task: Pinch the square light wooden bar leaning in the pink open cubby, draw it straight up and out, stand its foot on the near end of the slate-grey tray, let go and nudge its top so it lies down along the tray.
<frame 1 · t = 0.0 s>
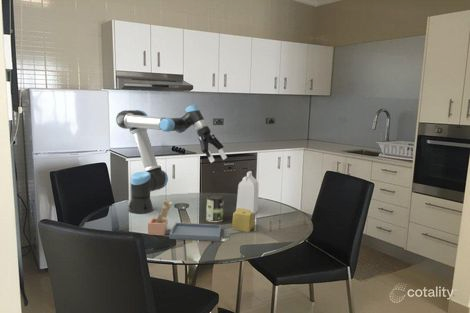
hand: (219, 160, 222), 36 cm above the table, tool tilted 35°, fingers open, 13 cm apart
slate tray: (196, 233, 203), on the table
light wooden bar: (157, 228, 203), point 2 cm above the table, touching pink open cubby
coffee can: (214, 219, 228), on the table
pink open cubby: (157, 231, 203), on the table
cheese: (243, 228, 215), on the table
milk: (247, 211, 248), on the table
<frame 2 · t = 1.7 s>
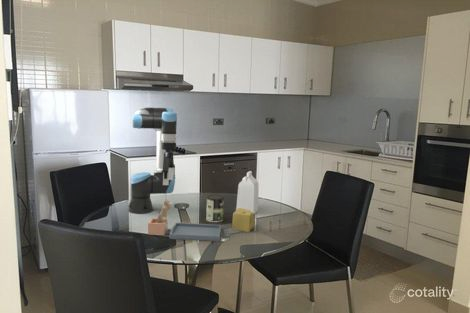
hand: (168, 182, 200), 27 cm above the table, tool pointing down, fingers open, 13 cm apart
nothing on the table moved.
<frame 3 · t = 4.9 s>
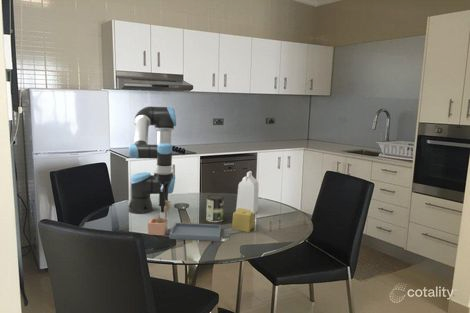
hand: (163, 216, 202), 9 cm above the table, tool pointing down, fingers closed on light wooden bar, 4 cm apart
light wooden bar: (157, 228, 203), point 2 cm above the table, touching gripper, pink open cubby
everything else where it was.
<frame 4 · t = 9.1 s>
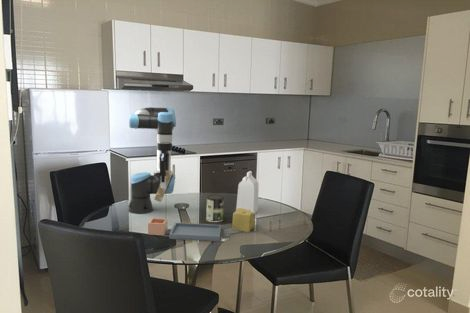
hand: (164, 187, 199), 25 cm above the table, tool pointing down, fingers closed on light wooden bar, 4 cm apart
light wooden bar: (158, 199, 201), point 18 cm above the table, touching gripper
everything else where it was.
when the fingers open (9 cm above the table, at t = 13.7 s): light wooden bar moves 2 cm and tips over, resting on slate tray.
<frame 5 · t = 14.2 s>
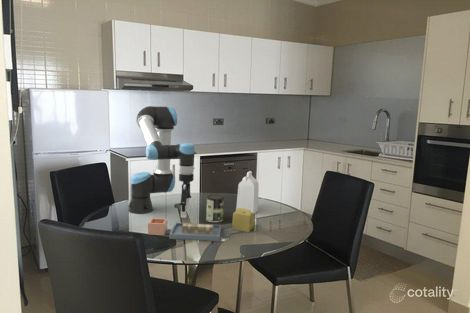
hand: (185, 213, 201), 11 cm above the table, tool pointing down, fingers open, 12 cm apart
light wooden bar: (182, 228, 203), point 3 cm above the table, tilted 72°, touching slate tray
everything else where it was.
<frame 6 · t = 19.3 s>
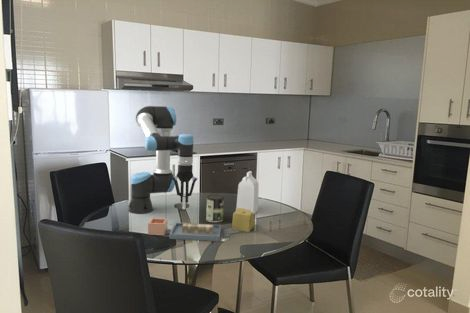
hand: (184, 208, 201), 14 cm above the table, tool pointing down, fingers closed
nothing on the table moved.
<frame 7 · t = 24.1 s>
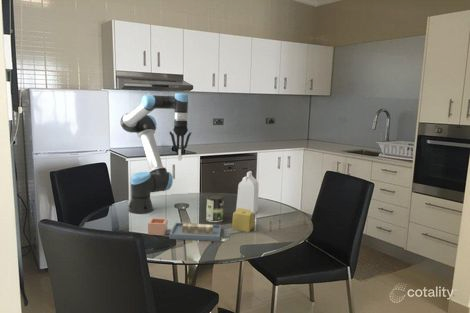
hand: (179, 160, 225), 34 cm above the table, tool pointing down, fingers closed
nothing on the table moved.
at the end: light wooden bar inside the target area on the slate tray (7.3 cm from its centre), point 2.8 cm above the slate tray's base; light wooden bar tilted 72°; the gripper is holding nothing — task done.
